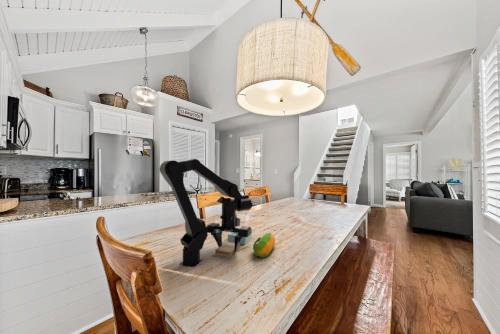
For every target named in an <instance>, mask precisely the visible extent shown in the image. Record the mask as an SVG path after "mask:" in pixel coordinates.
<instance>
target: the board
mask: <svg viewBox="0 0 500 334" xmlns="http://www.w3.org/2000/svg"><path fill="white" fill-rule="evenodd" d="M240 247H241V244H239V246H238V249H237V251H238V250H240ZM235 254H236V252H235V243H231V242H228V241H225V242H224V243H222V246H221V247H218V248H216V249H215V256H217V257H224V258H232V257H233V256H234V255H235Z"/></svg>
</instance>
